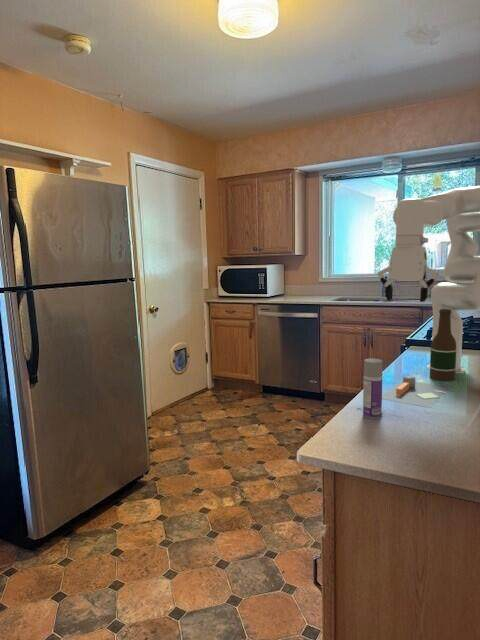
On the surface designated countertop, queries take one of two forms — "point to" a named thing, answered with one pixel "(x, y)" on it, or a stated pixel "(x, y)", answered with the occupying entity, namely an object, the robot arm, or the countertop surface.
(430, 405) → the tuner board
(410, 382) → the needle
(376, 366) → the container
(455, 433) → the countertop surface
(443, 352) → the beer bottle
